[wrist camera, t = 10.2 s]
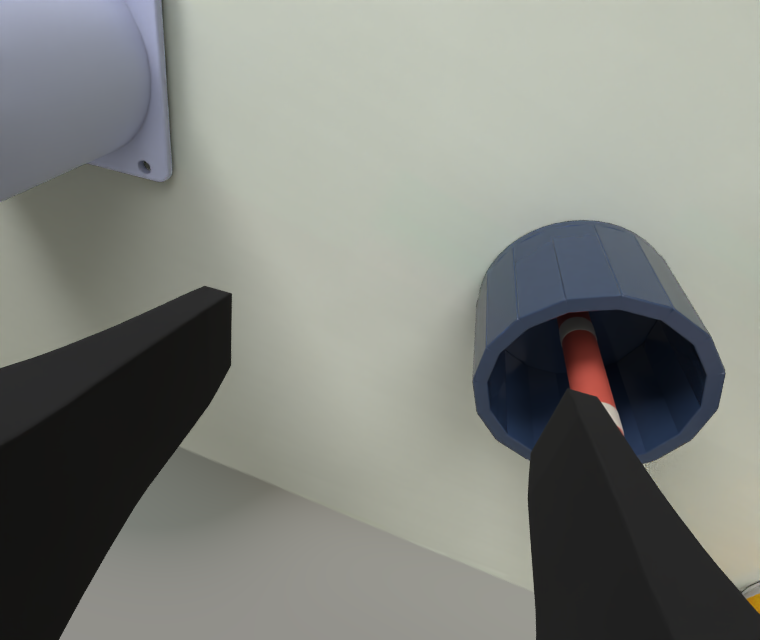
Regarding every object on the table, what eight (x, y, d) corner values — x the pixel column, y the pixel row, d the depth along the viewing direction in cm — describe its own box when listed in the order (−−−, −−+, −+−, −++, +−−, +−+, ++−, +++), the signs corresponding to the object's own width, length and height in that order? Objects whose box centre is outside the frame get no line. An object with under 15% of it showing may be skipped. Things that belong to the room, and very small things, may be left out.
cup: (457, 348, 23) (448, 439, 18) (511, 198, 18) (517, 268, 14) (616, 391, 22) (647, 493, 18) (710, 248, 18) (781, 336, 14)
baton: (550, 318, 20) (576, 476, 14) (562, 293, 20) (596, 448, 13) (580, 326, 20) (620, 488, 14) (593, 301, 20) (642, 461, 13)
